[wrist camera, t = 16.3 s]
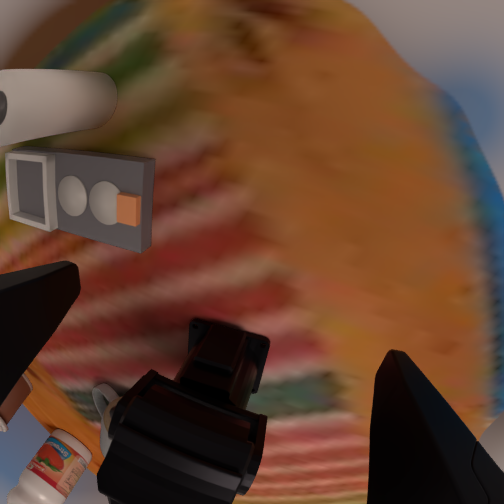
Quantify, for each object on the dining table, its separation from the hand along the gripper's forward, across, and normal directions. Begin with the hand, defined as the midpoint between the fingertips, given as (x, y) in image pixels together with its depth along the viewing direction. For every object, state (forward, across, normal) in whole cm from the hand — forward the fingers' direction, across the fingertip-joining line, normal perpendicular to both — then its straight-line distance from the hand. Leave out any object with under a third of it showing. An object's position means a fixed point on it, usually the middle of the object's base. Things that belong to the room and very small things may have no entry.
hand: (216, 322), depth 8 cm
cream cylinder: (+13, +15, -5) cm, 20 cm away
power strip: (+13, +16, +2) cm, 21 cm away
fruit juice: (+13, +30, +54) cm, 63 cm away
